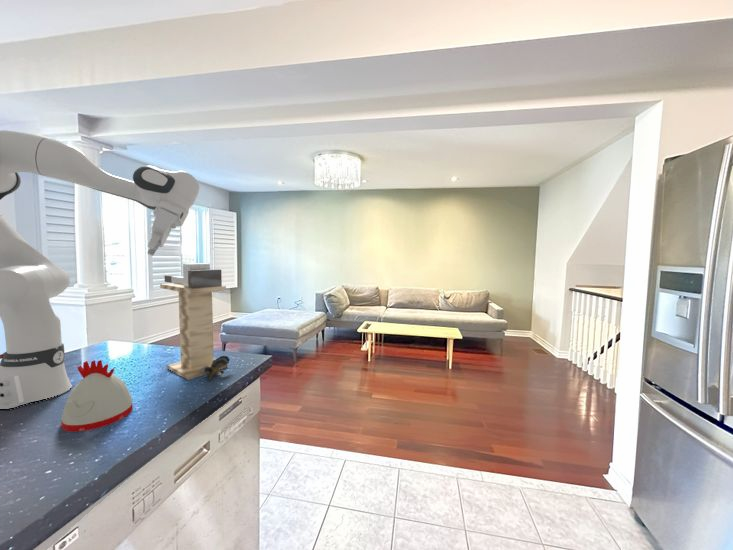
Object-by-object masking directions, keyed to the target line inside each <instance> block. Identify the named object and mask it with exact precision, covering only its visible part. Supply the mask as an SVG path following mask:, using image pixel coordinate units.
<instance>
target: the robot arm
mask: <svg viewBox="0 0 733 550" xmlns="http://www.w3.org/2000/svg"><path fill="white" fill-rule="evenodd" d="M19 173H31V174H34V175H39V176H42V177H47V178H51V179H56V180H58V181H59V180H60V181H64V182H69V183H72V184H76V185H80V186H83V187H86V188H90V189H92V190H95V191H99V192H103V193H106V194H110V195H113V196H116V197H120V198H122V199H126V200H127V199H128V200H131V201H134V202H136V203H139V204H140V205H142V206H143V207H145V208H147V209H149V210H153V212H152V213H153V215H154V217H155V218H154V220H153V223H152V226H151V236H150V237H151V238H150V240H149V242H148V244H147V247H148V248H149V249H148V250H147V255H149V256H154V255H155V253H156V252H157V250H158V249H159V248H163V247H164V245H165V243H166V241H167V239H168V237H169V236H170V234H171V231H172V230H173V229H176V228H177V227H182V226H183V224H184V222H185V220H186V219H187V216H188V215H189V211H190V208H191V207H192V206H193V205H194V203H195V201H196V199H197V197H198V194H199V191H200V184H199V181H198V180H197V179H196V178H195V177H194V176H193V175H192V174H190V173H189V172H187V171H183V170H178V171H172V170H171V171H169V170H166V169H165V170H164V169H161V168H158V167H157V166H153V165H143V166H140V167H138V168H136V169H135V170H134V172H133V174H132V179H133V181H132V180H129V179H126V178H122V177H119V176H117V175H116V176H115V175H112V174H110V173H108V172H106V171H104V170H103V169H101V168H100V167H99V166H97V165H96V164H95V163H94V162H93V161H91V159H90V158H88V156H86V155H85V154H84V153H83V152H82V151H81V150H80V149H78V148H77V147H74V146H73V145H69V144H67V143H65V142H62V141H59V140H57V139H52V138H48V137H44V136H41V135H36V134H32V133H25V132H20V131H16V130H15V131H13V130H12V131H11V130H4V129H3V130H0V201H1V200H2V199H3V198H4V197H6V196H8V195H10V194H13V193H14V192H15V191H17V190H18V189H19V187H20V186H21V183H22V182H21V176H20V175H19ZM70 283H71V279H70V275H69V273H68V272H67V271H66V270H65V269H63V268H62V267H59V266H58V265H56V264H55V263H53V262H52V261H51V260H50V259H48V258H47V257H46V256H45V255H43V253H41V252H40V251H39V250H38V249H36V248H34V247H33V246H32V245H31V244H30V243H29V242H28V241H26V240H25V238H23V236H21V234H20V233H19V232H18V231H17V230H16V228H15V227H14V226H13V225H12V224H11V222H9V221H8V220H7V218H5V217H4V215H3V214H2V213H1V212H0V320H1V322H2V325H3V329H4V330H3V331H4V338H5V348H6V351H5V352H3V353H1V354H0V359H1V360H0V407H2V408H11V407H15V406H18V405H22V404H24V403H29V402H33V401H38V400H42V399H46V400H48V399H47V398H49V399H51V398H50V397H52V398H54V396H55V397H57V395H58V396H60V395H63V394H65V393H67V392H68V391H70V390H71V389H72V387H73V385H72V383H71V381H70V379H69V377H68V374H67V370H66V366H65V362H64V361H65V346H64V344H65V343H63V342H62V325H61V319H60V317H58V316H57V315H56V313H55V312H54V309H53V308H52V304H51V301H50V299H53V298H55V297H57V296H59V295H60V294H62V293H63V292H65V291H66V290H67V288H68V287H69V285H70ZM70 388H71V389H70Z"/></svg>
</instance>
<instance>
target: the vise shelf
mask: <svg viewBox="0 0 733 550" xmlns="http://www.w3.org/2000/svg"><path fill="white" fill-rule="evenodd" d="M222 281H223V280H222V269H219V268H218V269H210V270H188V287H186V286H184V285H183V284H176V283H160V287H159V288H160V289H164V290H169V291H174V292H178V315H179V317H178V318H179V342H180V343H179V345H180V361H177V362H174V363H170V364H167V365H166V366H167V370H168V369H169V370H168V371H170V370H171V371H170V372H172V371H173V372H172V373H174V372H175V373H174V374H175V375H177V376H180V377H181V376H182V378H183V377H184V378H183V379H185V380H187V381H189V380H192V379H196V378H198V376H199V377H201V375H202V376H204V374H205V375H208V374H209V373H208V372H207V373H208V374H207V373H206V372H204V373H202V372H201V371H200V370H201V368H202V367H204V366H208V367H211V365H212V363H213V361H214V360H216V359H217V358H214V355H215V354H214V324H213V323H214V320H213V318H214V315H213V314H214V313H213V292H221V291H223V292H224V291H226V290H227V286H226V285H222V284H223V283H222ZM226 367H227V368H228V364H227V365H224V366H223V367H220V368H219V369H221V370H224V369H227V368H226ZM223 368H224V369H223ZM195 377H196V378H195Z"/></svg>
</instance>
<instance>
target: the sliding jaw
mask: <svg viewBox="0 0 733 550" xmlns="http://www.w3.org/2000/svg"><path fill="white" fill-rule="evenodd" d="M188 270H211V264H210V263H204V262H203V263H202V262H201V263H197V262H196V263H182V274H183V275H182V276H180V275H175V274H174V275H173V274H168V275H164V282H165V283H168V284H170V283H176V284H183V285H184V286H186V287H188Z"/></svg>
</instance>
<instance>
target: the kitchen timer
mask: <svg viewBox="0 0 733 550" xmlns="http://www.w3.org/2000/svg"><path fill="white" fill-rule="evenodd" d="M96 363H97V364H96ZM82 365H83V366H82ZM82 365H79V366H77V370H78V372H79V374H80V376H81V377H82V379H81V380H80V381H78V383H77V384H76V385H74V387H73V388H72V390H71V391H70V393H69V395H68V396H67V399H66V401H65V404H64V407H63V411H62V414H61V420H60V421H61V423H60V424H61V429H63V431H65V432H66V431H67V432H72V433H73V432H78V431H79V432H86V431H90V430H91V431H92V430H96V429H99V428H103V427H105V426H109V425H110V424H114V423H116V422H118V421H120V420H122V419H124V418H125V417H127V416H128V415H129V414H131V412H133V411H132V410H133V409H134V408H133V398H132V394H131V392H130V390H129V388H128V386H127V385H126V382H125V381H123V380H122V379H121V378H119V377H118V376H117V375H115V374H114V370H115V367H114V368H112V369H110V371H108V368H109V364H108V363H106V364H104V366H103V362H102V360H101V359H99V360H97V362H96V360H93V361H91V362H90V365H89V362H88V360H87V361H86V360H85V361H84V362H83V363H82Z"/></svg>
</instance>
